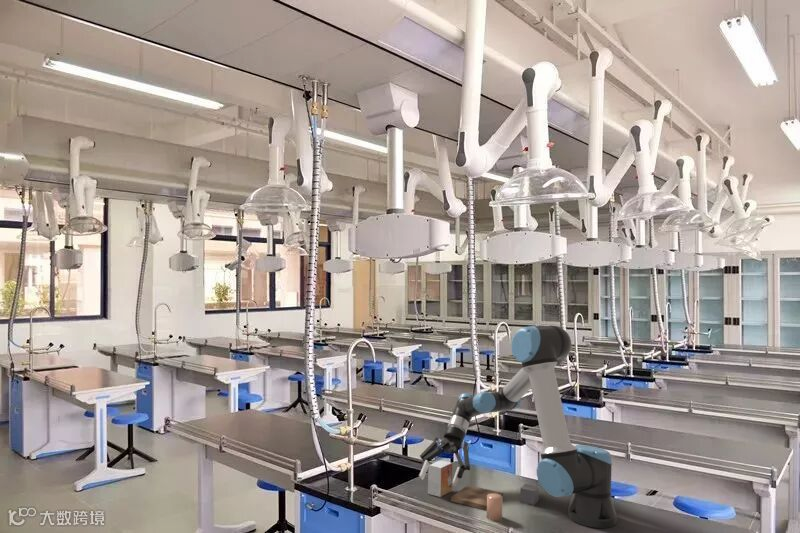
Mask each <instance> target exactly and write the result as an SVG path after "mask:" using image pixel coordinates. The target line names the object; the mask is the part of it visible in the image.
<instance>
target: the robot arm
mask: <svg viewBox="0 0 800 533" xmlns="http://www.w3.org/2000/svg"><path fill="white" fill-rule="evenodd" d="M513 335H514V336H513V337H512V339H511V344H510V346H511V347H510V348H511V353H512V356H513V358H514V359H515V360H516V361H517V362H519V363H521V366H522V367H521V368H520V369H519V371H518V372H516V374H515V375H514V376H513V377H511V379H510V380H509V381H508V382H507V383H506V385H505V386H503V387H502V388H501V390H499V391H493V392H489V391H482V392H478V393H476V394H474V395H473V394H471V393H468V392H467V393H465V392H464V393H460V395H459V397H458V399H457V400H456V403H455V407H454V408H453V412H452V414H451V417H450V419H449V422H448V425H447V427H446V430H445V432H444V434H443V438H442V439H440V438H438V437H436V436H435V437H434V439H433V442H431V444H429V446H427V448H425V450H423V451H422V453H421V454H420V455H419V458H420V459H421V460H422V462H421V466H420V469H421V470H420V472H419V474H418V477H419V478H420V479H421V480H423V481H424V479H425V477H426V473H427V472H428V468H429V465H430V462H431V461H432V460H434V459H435V458H437V457H438V456H439V455H441V454H444V453H445V454H450V455H454V454H455V458H456V460H457V462H458V465H459V466H457V468H456V470H455V473H454V476H453V477H452V487H454V488H457V485H458V483H459V480H460V479H462V478H463V475H464V473H465V471H470V470H471V463H470V457H469V450H470V446H469V444H468V443H467V442H465V443H463V442H464V440H465V437H466V434H467V431H468V430H469V429H468V428H469V426H470V423H471V421H472V418H474V417H477V416H481V415H484V414H492V413H497V412H505V411H512V410H516V409H517V408H518V407H520V406H521V405H520V404H521V399H522V398H523V397H524V395H526V394H527V392H529V391H530V390H531V392H532V397H533V402H534V407H535V411H536V416H537V420H538V425H539V429H540V435H541V439H542V445H543V447H542V449H541V451H540V453H539V454H540V459H541V460H539V462H538V464H537V467H536V476H537V480H538V482H539V484H540V486H541V488H542V489H543V490H544V491H546V493H548V495H550V496H553V497H554V498H555V497H556V498H561V497H569V496H571V495H572V496H571V499H570V502H569V505H568V509H567V513H568V514H567V515H568V518H569V519H570V520H571V521H573V522H574V523H577V524H579V525H582V526H584V527H590V528H595V529H596V528H598V529H606V528H611V527H613V526H616V524H617V521H618V520H617V512H616V509H615V505H614V502H613V499H612V466H613V463H612V454H611V453H610V452H609V451H608V450H606V449H604V448H600V447H597V446H593V445H588V444H577V445H573V444H572V443H571V438H570V435H569V429H568V426H567V421H566V416H565V412H564V408H563V403H562V399H561V394H560V389H559V385H558V381H557V375H556V371H555V368H556V367H557V366H559V365H560V364H561V363H562V362H564V361H565V359H566V358H567V357H568V355H569V354H570V353H571V349H572V340H571V336H570V335H569V333H568V332H567V331H566V330H565V328H562V327H561V326H558V325H530V326H524V327H521V328H519V329H518V330H517V331H516V332H515V333H514V334H513ZM461 449H462V451H463V459H464V462H463V460H462V457H461V456H460V452H459V451H460V450H461Z"/></svg>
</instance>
